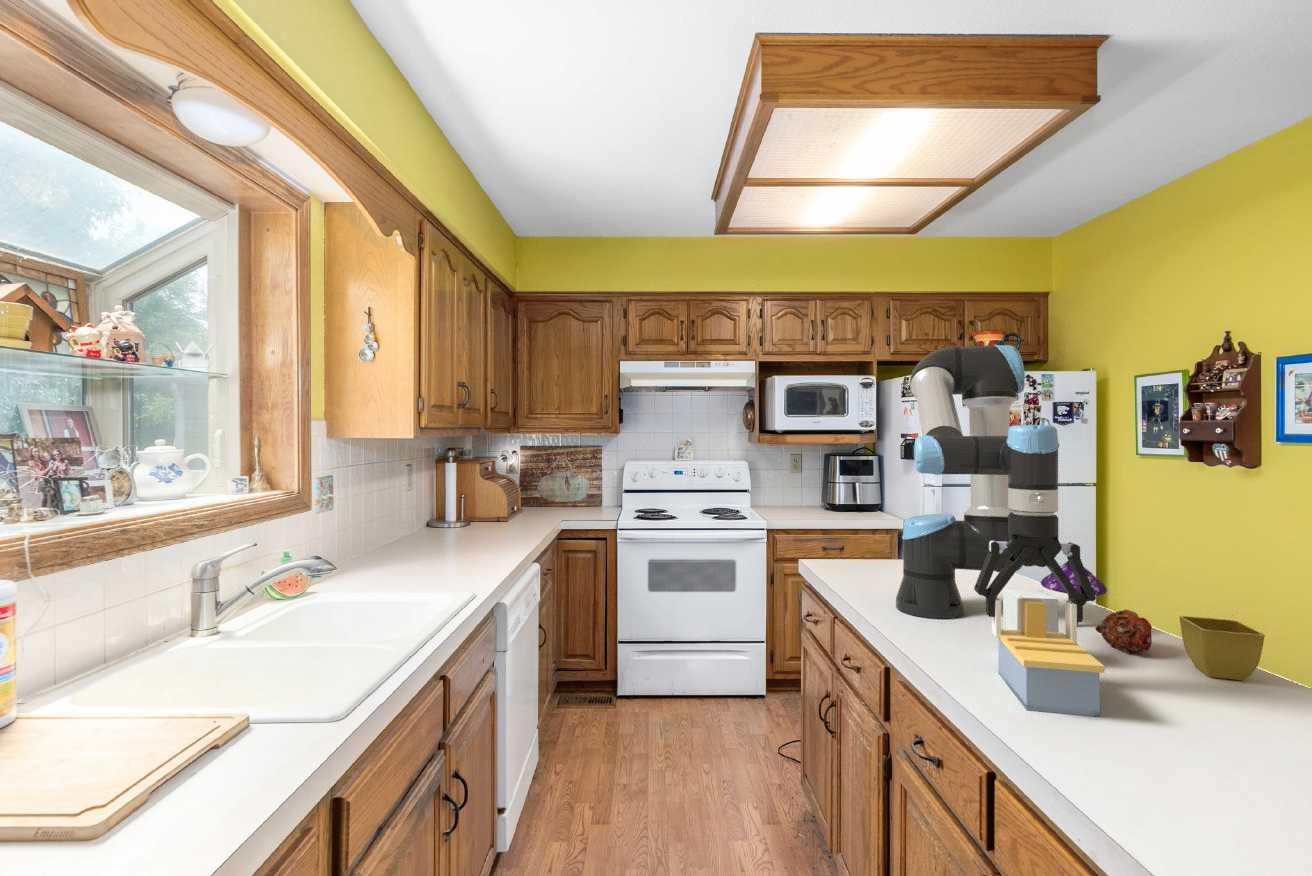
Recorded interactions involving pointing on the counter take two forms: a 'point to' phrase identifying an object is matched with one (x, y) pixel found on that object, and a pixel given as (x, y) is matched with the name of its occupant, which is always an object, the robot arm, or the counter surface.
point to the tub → (1050, 687)
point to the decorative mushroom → (1073, 582)
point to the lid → (1045, 643)
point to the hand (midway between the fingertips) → (1033, 637)
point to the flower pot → (1222, 646)
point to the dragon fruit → (1126, 631)
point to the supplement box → (1014, 608)
